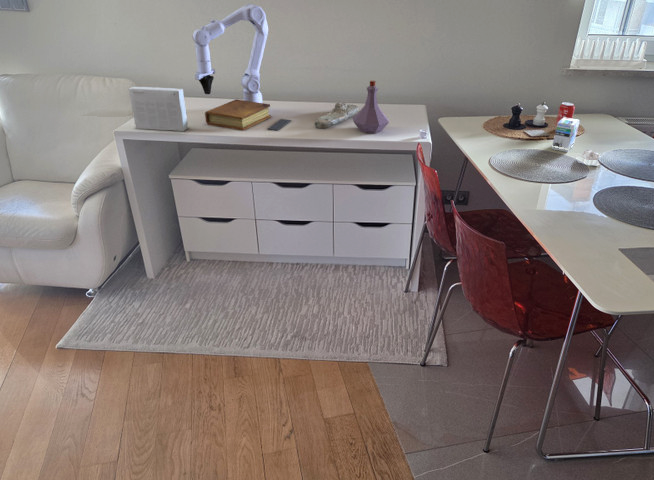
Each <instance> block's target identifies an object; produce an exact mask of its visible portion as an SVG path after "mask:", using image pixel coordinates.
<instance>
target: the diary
mask: <svg viewBox="0 0 654 480" xmlns="http://www.w3.org/2000/svg"><path fill="white" fill-rule="evenodd" d="M270 107H271V104H270V103H265V102H264V103H263V102H262V103H257V102H250V101H244V99H238V98H237V99H233V100H231V101H229V102H226V103H224V104H221V105H219V106H215V107H214V108H212V109H208V110H206V111H205V112H204V118H205V123H206V124H207V125H208V126H214V127H220V128H225V129H231V130H238V131H246V130H249V128H252V127H253V126H254V127H255V125H258V124H260V123H261V122H264V121H265V120H268V119H270V118H271V117H272V115H271V114H270V111H269V108H270Z"/></svg>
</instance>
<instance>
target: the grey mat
mask: <svg viewBox="0 0 654 480" xmlns="http://www.w3.org/2000/svg"><path fill="white" fill-rule="evenodd" d="M290 122H291V119H283V118H281V119H279V120H278V121H276V122H275V123H274V124H272V125H270V126H269V127H267V130H268V131H276V132H278V131H279V130H281V129H282V128H283V127H284V126H286V125H288V124H289V123H290Z"/></svg>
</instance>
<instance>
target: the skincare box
mask: <svg viewBox="0 0 654 480" xmlns="http://www.w3.org/2000/svg"><path fill="white" fill-rule="evenodd" d="M128 94H129V99H130V105H131V110H132V114H133V119H134V125H135V126H134V127H135V129H136V130H137V129H138V130H155V131H174V132H185V131H186V130H187V129H189V124H188V117H187V110H186V102H185V95H184V89H183V88H175V87H174V88H173V87H172V88H171V87H153V86H152V87H151V86H131V87H129V88H128Z"/></svg>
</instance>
